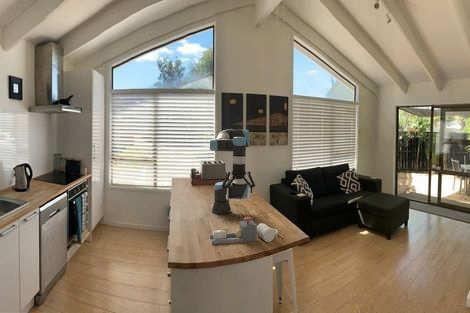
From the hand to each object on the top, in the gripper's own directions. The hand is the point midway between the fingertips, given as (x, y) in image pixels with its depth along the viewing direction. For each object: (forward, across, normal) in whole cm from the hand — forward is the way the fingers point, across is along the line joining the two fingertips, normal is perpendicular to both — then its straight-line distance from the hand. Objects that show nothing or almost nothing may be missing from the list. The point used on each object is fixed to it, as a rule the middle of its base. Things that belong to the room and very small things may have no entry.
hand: (238, 198), depth 161 cm
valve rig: (+24, -4, -3) cm, 25 cm away
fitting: (+23, -12, -3) cm, 26 cm away
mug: (+25, +18, -3) cm, 31 cm away
